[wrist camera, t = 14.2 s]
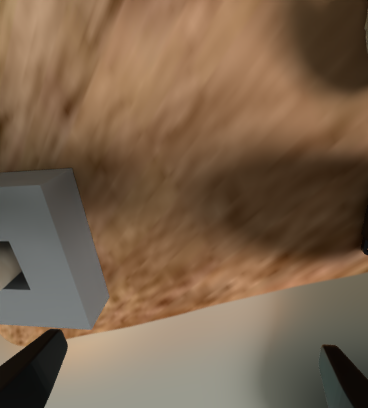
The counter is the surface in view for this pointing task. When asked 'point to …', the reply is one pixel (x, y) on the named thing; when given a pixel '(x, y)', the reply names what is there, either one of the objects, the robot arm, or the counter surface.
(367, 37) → the chocolate bunny
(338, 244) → the counter surface
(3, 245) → the long pin
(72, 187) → the socket block
